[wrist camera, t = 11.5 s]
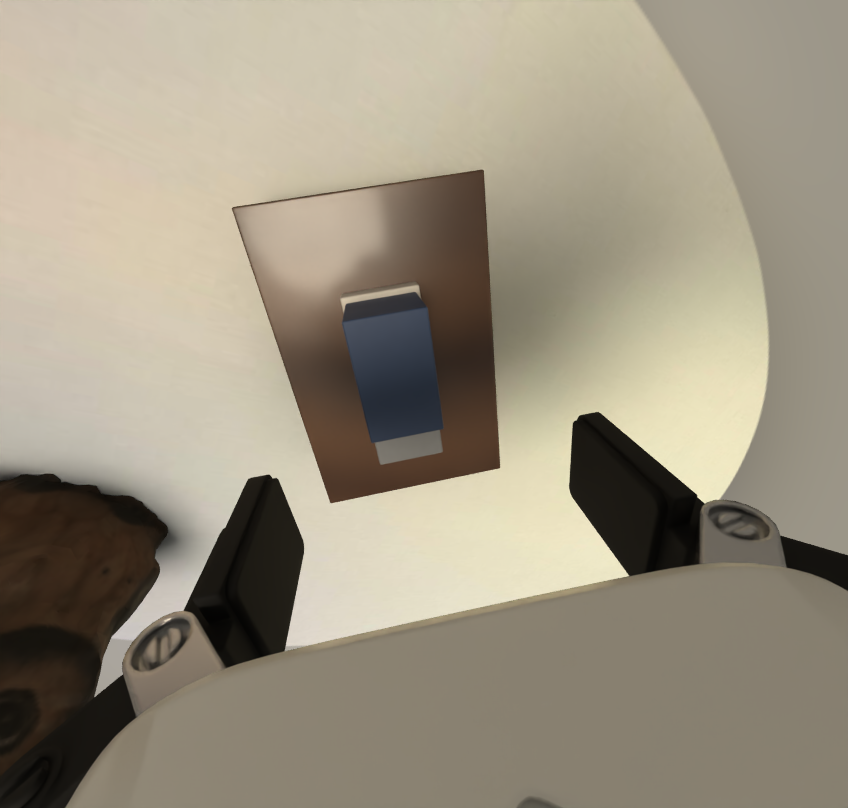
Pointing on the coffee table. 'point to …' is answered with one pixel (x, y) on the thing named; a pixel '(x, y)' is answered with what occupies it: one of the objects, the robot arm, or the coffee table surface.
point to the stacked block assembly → (394, 370)
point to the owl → (63, 597)
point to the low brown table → (367, 269)
